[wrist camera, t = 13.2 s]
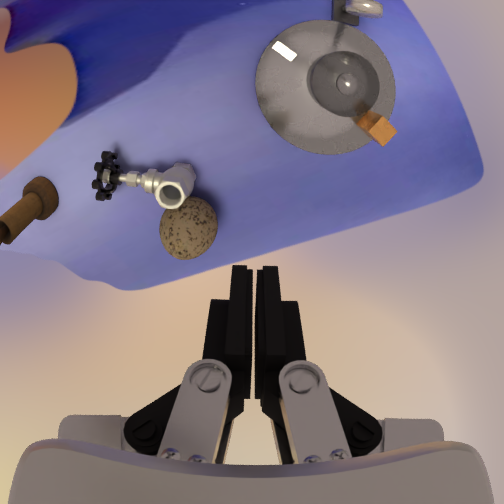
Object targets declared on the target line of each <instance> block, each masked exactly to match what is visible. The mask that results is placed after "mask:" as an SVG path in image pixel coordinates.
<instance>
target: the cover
mask: <svg viewBox="0 0 504 504" xmlns="http://www.w3.org/2000/svg"><path fill="white" fill-rule="evenodd" d="M306 83H307V88H308V91H309V93H310V95H311V97H312V98H313V100H314V101H315V102H316V103H317V104H318V105H319V106H321V107H322V108H324V109H326V110H328V111H330V112H331V113H333V114H336V115H338V116H342V117H356V116H359V115H362V114H364V113H366V112H367V111H368V110H370V109H371V108H372V107H373V105H374V104H375V102H376V100H377V98H378V95H379V90H380V83H379V78H378V75H377V72H376V70H375V69H374V67H373V66H372V64H371V63H370V62H369V61H368V60H367V59H365V58H364V57H362V56H361V55H359V54H357V53H354V52H349V51H337V52H332V53H328V54H324V55H322V56H320V57H318V58H317V59H316V60H315V61H314V62H313V63H312V64H311V65H310V67H309V69H308V72H307V77H306Z"/></svg>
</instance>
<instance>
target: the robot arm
mask: <svg viewBox="0 0 504 504" xmlns="http://www.w3.org/2000/svg"><path fill="white" fill-rule="evenodd" d="M252 283H253V270H252V269H247V266H246V265H233V266H232V276H231V287H230V298H229V300H220V299H219V300H218V299H211V302H210V309H209V316H208V322H207V329H206V336H205V343H204V350H203V357H202V360H199V361H197V362H195V363H193V364H192V365H191V366H190V367H188V369H187V371H186V373H185V375H184V378H183V381H182V383H181V384H180V385H178V386H177V387H175V388H174V389H172V390H171V391H169V392H168V393H166V394H165V395H163V396H161V397H160V398H158V399H157V400H155V401H154V402H152V403H150V404H149V405H147V406H146V407H144V408H143V409H141V410H139V411H138V412H136V413H134V414H133V415H132V416H130V417H121V415H70V416H67V417H65V418H64V419H63V420H62V422H61V423H60V426H59V432H58V439H46V440H41V441H37V442H35V443H32V444H31V445H29V446H28V447H27V448H26V450H25V451H24V453H23V454H22V456H21V458H20V461H19V463H18V465H17V468H16V471H15V475H14V478H13V481H12V486H11V490H10V495H9V501H8V504H494V499H493V494H492V490H491V485H490V480H489V477H488V473H487V470H486V467H485V465H484V462H483V460H482V458H481V456H480V454H479V453H478V452H477V450H476V449H475V448H473V447H472V446H470V445H468V444H464V443H461V442H454V441H444V433H443V429H442V427H441V425H440V424H439V423H438V422H437V421H435V420H432V419H394V418H385V419H384V420H376V419H375V418H374V417H373V416H371V415H370V414H368V413H367V412H365V411H364V410H362V409H361V408H359V407H358V406H356V405H355V404H353V403H351V402H350V401H349V400H347V399H346V398H344V397H343V396H341V395H340V394H338V393H337V392H335V391H334V390H332V389H331V388H330V387H329V386H328V383H327V381H326V378H325V375H324V373H323V371H322V370H321V369H320V368H319V367H318V366H317V365H316V364H313V363H312V362H309V361H306V354H305V347H304V340H303V334H302V326H301V320H300V313H299V306H298V302H297V301H281V293H280V283H279V275H278V266H263V270H257V284H256V306H255V399H260V403H261V407H262V412H263V413H265V414H266V415H267V416H268V417H269V418H271V425H272V430H273V435H274V440H275V444H276V449H277V454H278V459H279V463H280V465H229V464H228V465H227V464H224V463H225V459H226V454H227V450H228V446H229V441H230V437H231V432H232V427H233V423H234V418H235V417H237V416H238V415H239V414H241V413H242V412H243V411H244V399H250V389H251V369H252V309H253V308H252V305H253V303H252V302H253V301H252V300H253V295H252V294H253V291H252V290H253V289H252V288H253V284H252Z"/></svg>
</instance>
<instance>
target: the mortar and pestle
mask: <svg viewBox="0 0 504 504" xmlns="http://www.w3.org/2000/svg"><path fill="white" fill-rule="evenodd" d="M57 206H58V195H57V192H56V189H55V187H54V186H53V184H52V183H51V182H50V181H49V180H48V179H46V178H44V177H36V178H34V179H33V180H32V181H30V182H29V183H28V184H27V185H26V186H25V187H24V190H23V198H22V199H21V200H19V201H18V202H17V203H16V204H15V205H14V206H12V207H11V208H10V209H9V210H8V211H7V212H5V213H4V214H3V215H2V216H1V217H0V245H1V243H2V242H3V243H4V244H11V243H12V242H13V240H14V239H15V238H16V237H17V236H18V235H19V234H20V233H21V232H22V231H23V230H24V229H25V228H26V227H27V226H28V225H29V224H30V223H31V222H32V221H33V220H34V219H38V220H45V219H47V218H48V217H49V216H50V215H51V214H52V213H53V212H54V211H55V210H56V209H57Z"/></svg>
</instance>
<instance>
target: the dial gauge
mask: <svg viewBox="0 0 504 504" xmlns="http://www.w3.org/2000/svg"><path fill="white" fill-rule="evenodd" d="M359 16H360V17H366V18H382V17H383V6H382V4H380V3H378V2H376V1H373V0H332V21H336V22H340V23H343V24H346V25H351V26H358V25H359Z"/></svg>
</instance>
